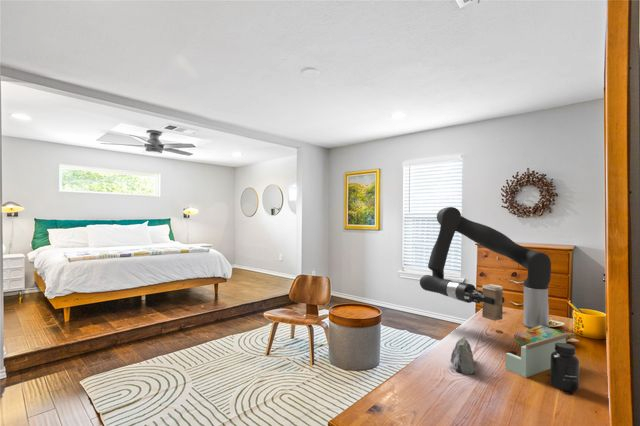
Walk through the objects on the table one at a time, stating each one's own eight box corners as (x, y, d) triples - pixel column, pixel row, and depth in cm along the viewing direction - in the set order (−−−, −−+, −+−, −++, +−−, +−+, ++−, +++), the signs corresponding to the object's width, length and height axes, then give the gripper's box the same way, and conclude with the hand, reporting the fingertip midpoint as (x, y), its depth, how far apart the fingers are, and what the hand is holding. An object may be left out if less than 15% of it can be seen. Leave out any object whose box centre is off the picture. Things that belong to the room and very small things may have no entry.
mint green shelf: (540, 354, 121) (541, 325, 121) (568, 364, 113) (568, 333, 113) (501, 366, 111) (501, 335, 111) (528, 378, 103) (528, 345, 103)
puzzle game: (514, 332, 130) (540, 323, 141) (514, 344, 130) (540, 334, 141) (547, 342, 120) (573, 332, 131) (547, 355, 120) (573, 344, 131)
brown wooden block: (490, 315, 131) (490, 284, 131) (502, 319, 126) (502, 286, 126) (482, 316, 129) (482, 285, 128) (494, 320, 124) (494, 288, 124)
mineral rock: (461, 355, 120) (462, 327, 120) (491, 367, 111) (492, 336, 111) (439, 364, 112) (439, 334, 112) (469, 378, 103) (469, 345, 103)
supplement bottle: (571, 394, 94) (571, 351, 94) (545, 383, 100) (545, 343, 100) (584, 389, 97) (584, 347, 97) (558, 378, 103) (558, 339, 103)
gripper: (448, 283, 137) (486, 293, 121) (472, 280, 143) (511, 289, 128) (448, 302, 137) (486, 314, 122) (472, 298, 143) (511, 308, 128)
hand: (499, 301), depth 125 cm, fingers closed on brown wooden block, 4 cm apart
